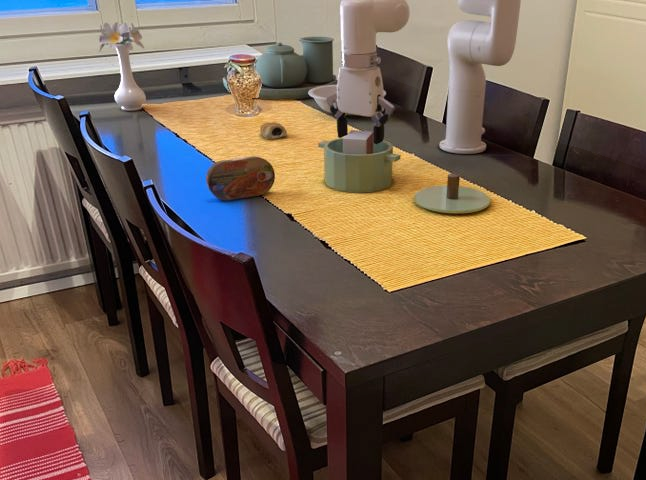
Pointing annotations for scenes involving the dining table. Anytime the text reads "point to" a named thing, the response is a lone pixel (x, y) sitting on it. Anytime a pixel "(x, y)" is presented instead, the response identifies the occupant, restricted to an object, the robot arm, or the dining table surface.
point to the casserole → (358, 167)
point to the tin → (240, 178)
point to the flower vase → (124, 63)
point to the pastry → (272, 130)
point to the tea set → (295, 69)
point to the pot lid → (452, 197)
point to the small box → (358, 142)
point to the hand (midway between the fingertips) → (360, 139)
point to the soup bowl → (325, 96)
